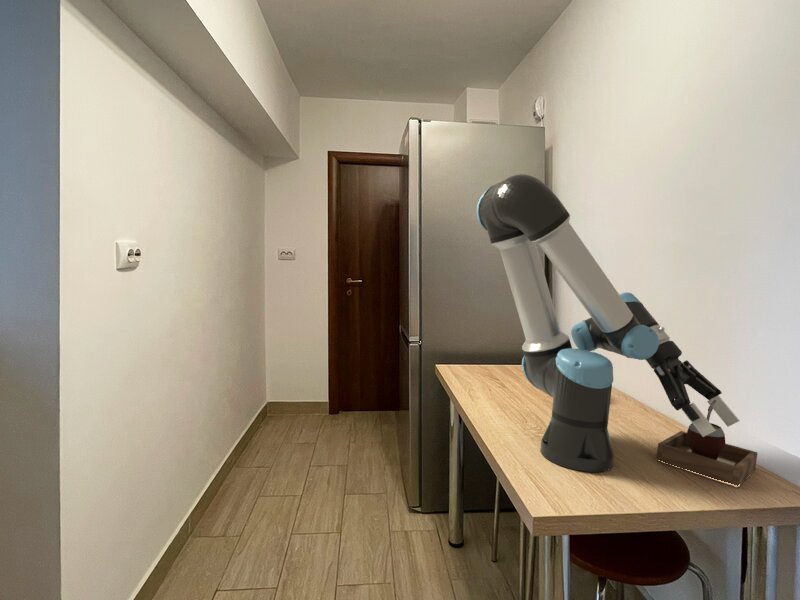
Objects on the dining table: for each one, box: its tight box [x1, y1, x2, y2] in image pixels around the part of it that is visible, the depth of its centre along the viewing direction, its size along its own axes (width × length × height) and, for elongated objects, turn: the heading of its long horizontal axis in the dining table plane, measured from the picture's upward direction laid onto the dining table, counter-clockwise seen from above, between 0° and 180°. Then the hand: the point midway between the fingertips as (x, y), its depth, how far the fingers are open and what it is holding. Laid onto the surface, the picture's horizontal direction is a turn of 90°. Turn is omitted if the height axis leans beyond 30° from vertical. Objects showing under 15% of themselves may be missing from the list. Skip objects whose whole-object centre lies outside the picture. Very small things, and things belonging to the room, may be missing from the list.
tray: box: [655, 430, 758, 486], centre depth 99 cm, size 15×15×4 cm
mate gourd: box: [686, 400, 726, 460], centre depth 98 cm, size 8×8×15 cm
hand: (722, 428), depth 97 cm, fingers open, 13 cm apart
